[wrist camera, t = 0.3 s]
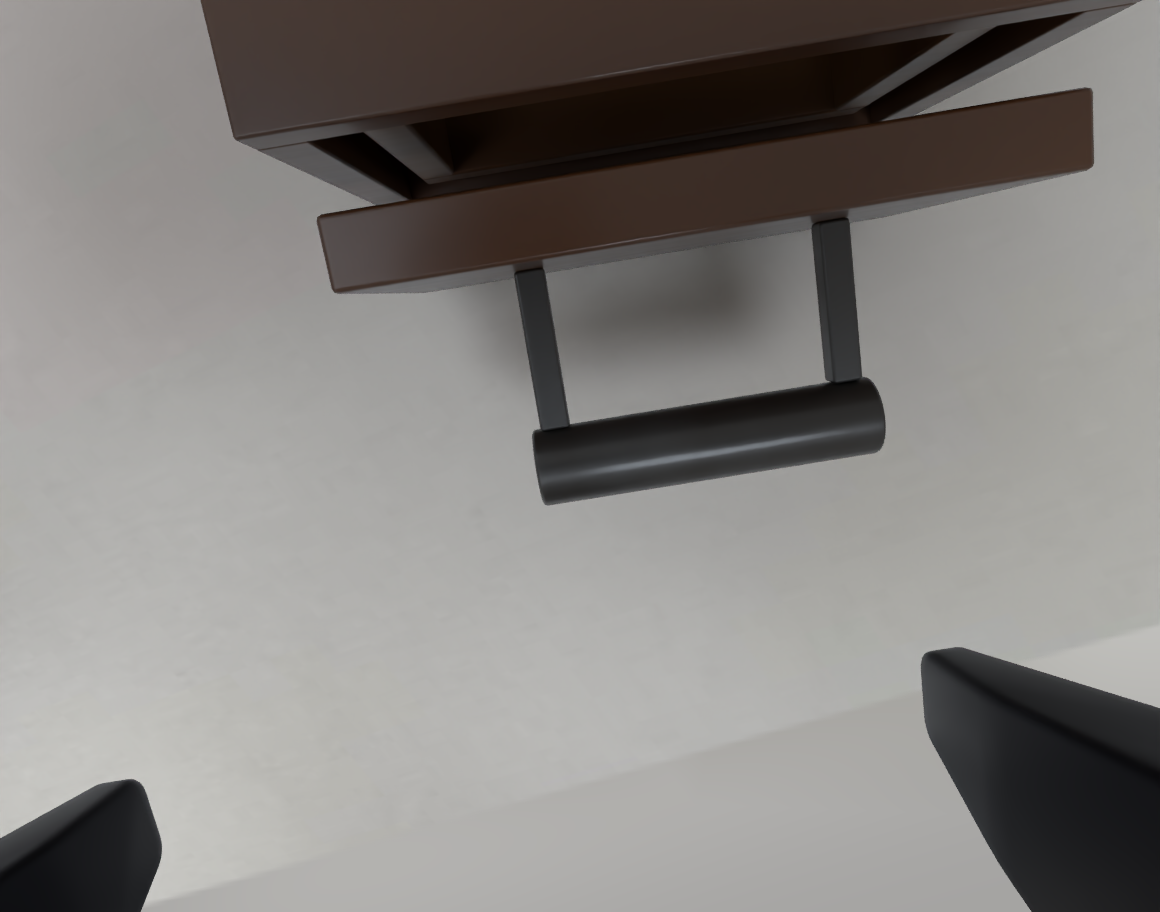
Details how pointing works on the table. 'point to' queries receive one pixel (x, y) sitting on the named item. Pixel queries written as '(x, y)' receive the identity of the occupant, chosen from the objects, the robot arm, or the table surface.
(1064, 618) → the table surface
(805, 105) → the drawer
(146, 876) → the robot arm
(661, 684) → the table surface
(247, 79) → the cabinet
